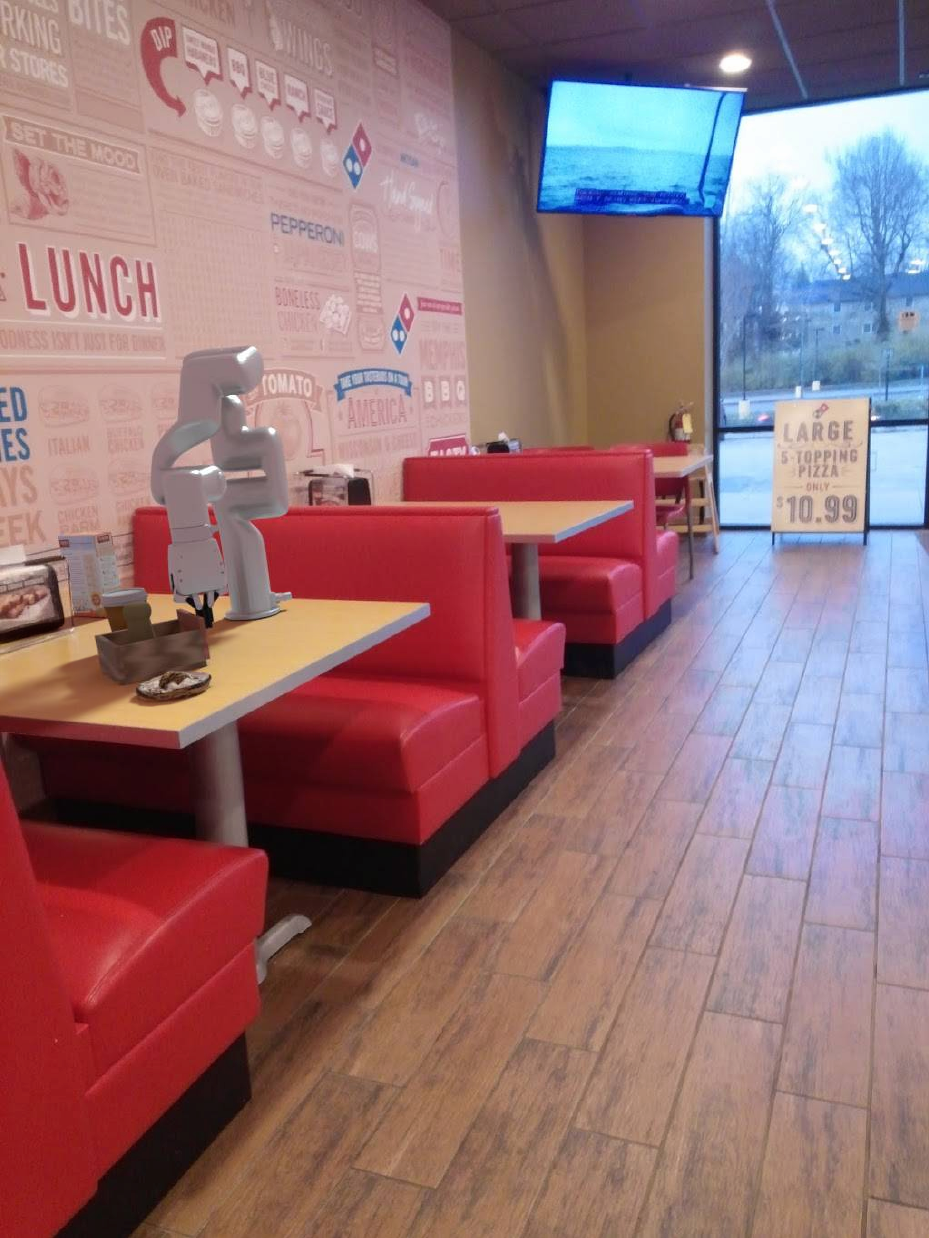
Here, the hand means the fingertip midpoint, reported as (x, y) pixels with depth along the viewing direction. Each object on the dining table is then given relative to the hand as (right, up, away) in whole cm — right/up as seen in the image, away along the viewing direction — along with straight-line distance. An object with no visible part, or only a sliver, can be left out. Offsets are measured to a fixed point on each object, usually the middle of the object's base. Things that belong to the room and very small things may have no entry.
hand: (206, 627), depth 192 cm
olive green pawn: (-10, -6, -6) cm, 13 cm away
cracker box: (-42, +3, +56) cm, 69 cm away
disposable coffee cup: (-19, -5, +15) cm, 25 cm away
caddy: (-9, -8, -5) cm, 13 cm away
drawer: (-8, -7, -4) cm, 11 cm away
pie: (0, -11, -22) cm, 25 cm away
